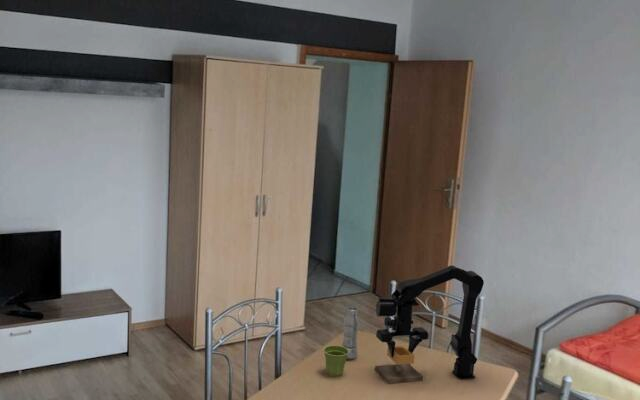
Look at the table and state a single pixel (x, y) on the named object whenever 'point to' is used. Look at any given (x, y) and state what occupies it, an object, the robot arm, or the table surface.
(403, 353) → the tan rectangular frame
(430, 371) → the table surface
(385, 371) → the keeper board
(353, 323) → the plastic bottle
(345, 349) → the plant pot
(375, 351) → the table surface
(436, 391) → the table surface
